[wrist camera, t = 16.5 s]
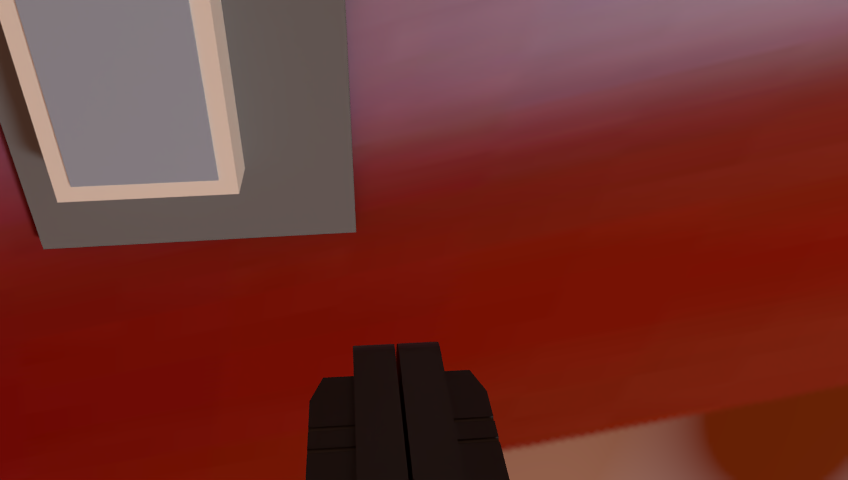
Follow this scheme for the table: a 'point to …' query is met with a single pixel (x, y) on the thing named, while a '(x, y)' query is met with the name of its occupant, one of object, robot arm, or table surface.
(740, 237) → the table surface
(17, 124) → the mat
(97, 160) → the beige flat block
